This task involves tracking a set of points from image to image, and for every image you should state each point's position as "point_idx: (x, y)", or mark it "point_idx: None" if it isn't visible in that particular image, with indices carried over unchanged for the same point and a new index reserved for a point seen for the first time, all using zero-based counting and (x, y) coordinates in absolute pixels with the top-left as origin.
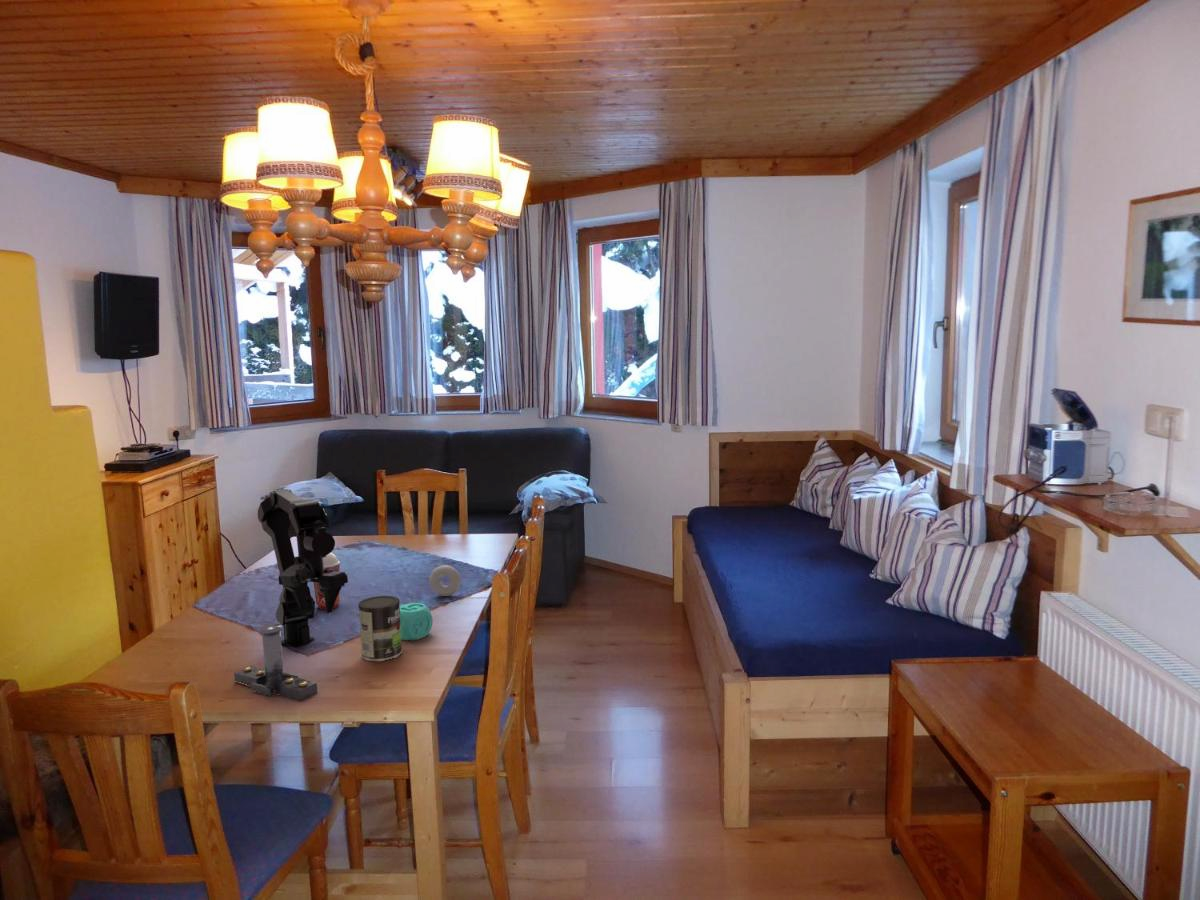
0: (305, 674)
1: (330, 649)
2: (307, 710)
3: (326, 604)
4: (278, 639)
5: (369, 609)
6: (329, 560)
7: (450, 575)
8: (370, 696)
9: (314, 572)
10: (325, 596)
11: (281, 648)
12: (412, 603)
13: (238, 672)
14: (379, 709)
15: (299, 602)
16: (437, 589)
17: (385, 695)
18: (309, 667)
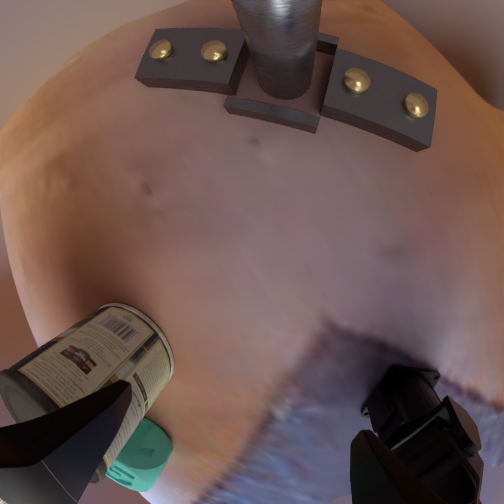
0: (250, 179)
1: (283, 372)
2: (133, 25)
3: (87, 410)
4: None
5: (12, 375)
6: None
7: None
8: (51, 125)
9: None
10: (38, 442)
11: (238, 16)
12: (134, 489)
13: (427, 90)
14: (34, 95)
15: (383, 467)
16: None
17: (35, 141)
18: (270, 235)
